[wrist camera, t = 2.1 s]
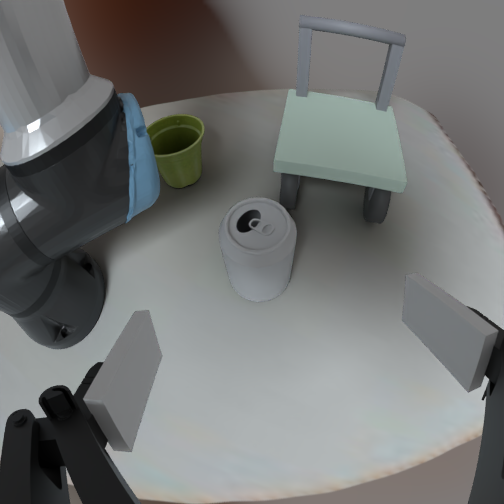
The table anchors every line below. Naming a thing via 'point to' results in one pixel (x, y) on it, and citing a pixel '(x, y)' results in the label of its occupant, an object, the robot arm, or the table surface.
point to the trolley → (342, 127)
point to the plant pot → (177, 148)
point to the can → (258, 247)
